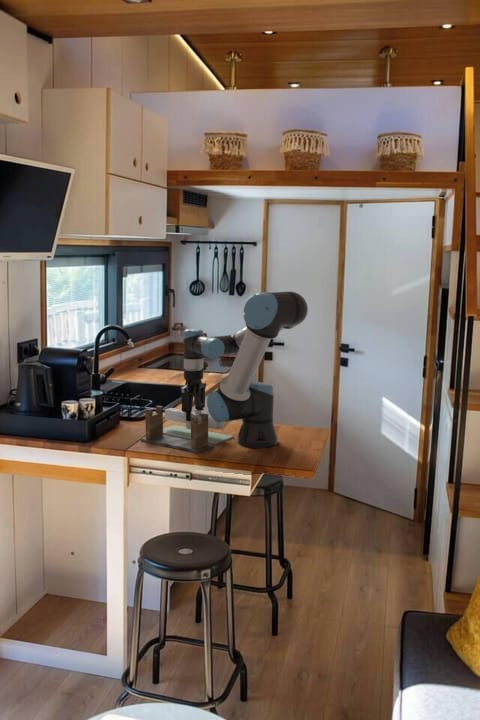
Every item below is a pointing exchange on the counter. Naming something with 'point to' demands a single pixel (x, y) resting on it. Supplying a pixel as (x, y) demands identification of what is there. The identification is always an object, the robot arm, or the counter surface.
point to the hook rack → (194, 445)
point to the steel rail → (181, 416)
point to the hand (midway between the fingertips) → (193, 427)
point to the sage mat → (186, 433)
